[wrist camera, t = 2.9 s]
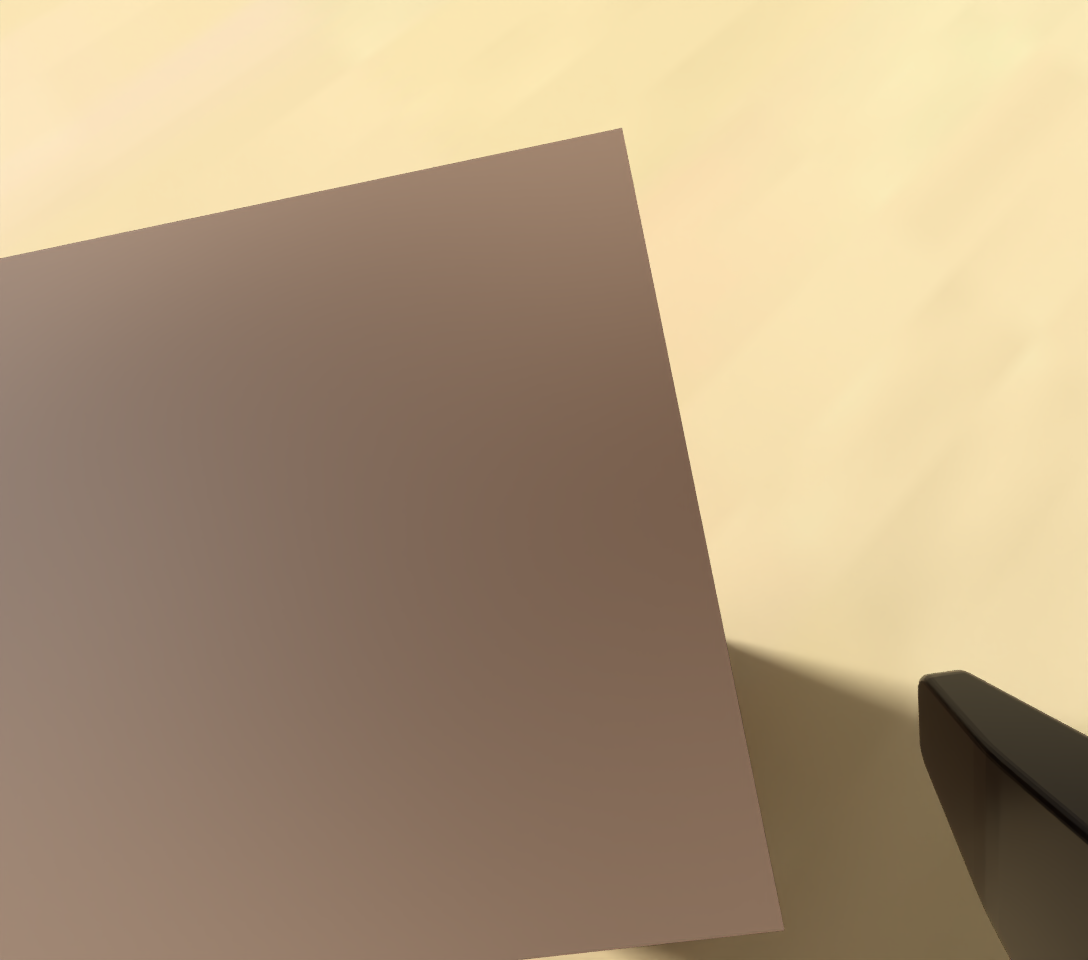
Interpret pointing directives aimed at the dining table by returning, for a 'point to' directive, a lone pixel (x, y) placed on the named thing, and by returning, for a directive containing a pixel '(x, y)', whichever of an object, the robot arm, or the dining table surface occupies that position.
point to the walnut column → (363, 586)
